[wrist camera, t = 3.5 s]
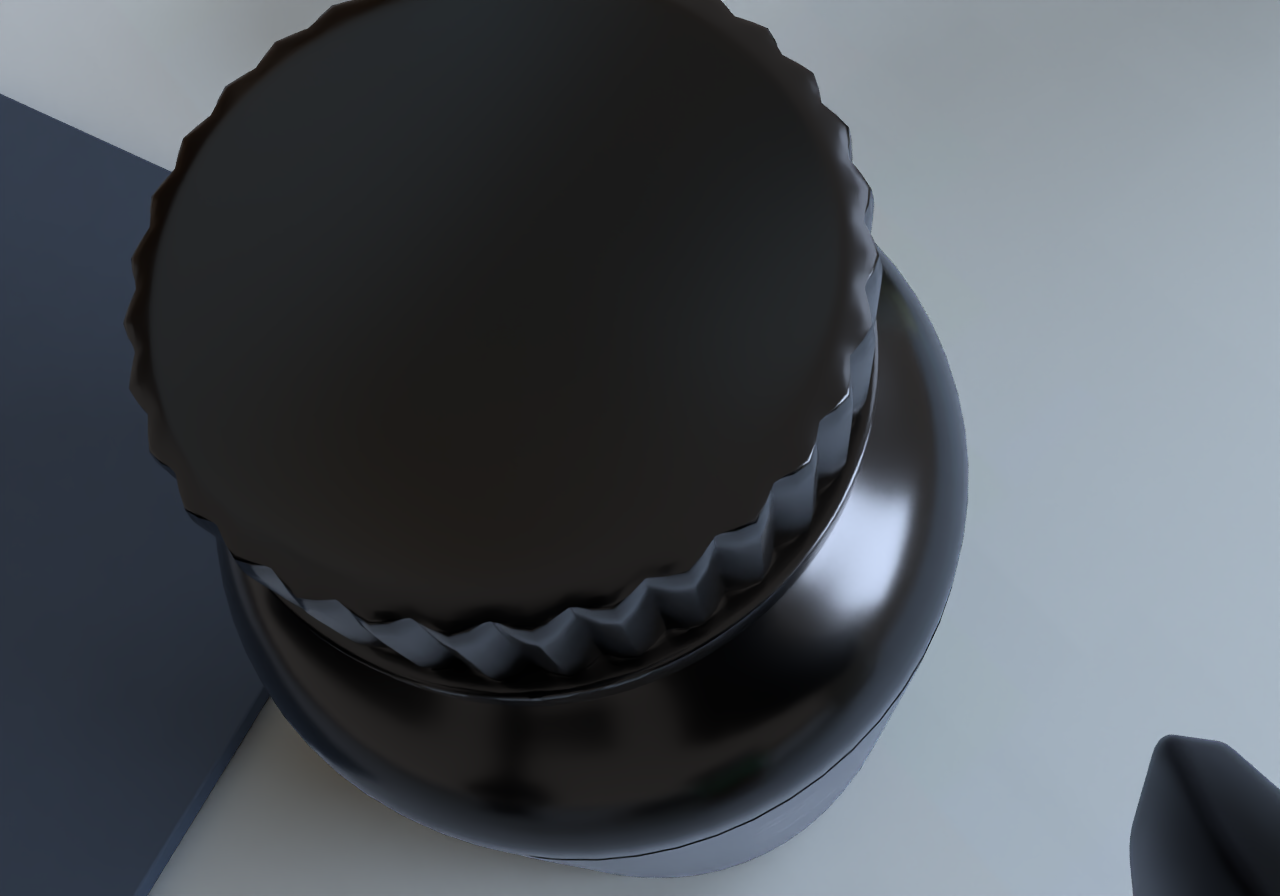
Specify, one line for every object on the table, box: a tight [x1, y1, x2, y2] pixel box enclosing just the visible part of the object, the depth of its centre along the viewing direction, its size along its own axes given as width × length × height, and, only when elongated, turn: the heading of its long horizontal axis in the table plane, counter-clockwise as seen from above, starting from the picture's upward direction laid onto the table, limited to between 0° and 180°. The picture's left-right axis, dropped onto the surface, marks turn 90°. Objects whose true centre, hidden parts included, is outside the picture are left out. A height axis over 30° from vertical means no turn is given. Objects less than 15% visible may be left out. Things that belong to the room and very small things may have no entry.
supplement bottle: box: [123, 0, 968, 878], centre depth 13 cm, size 7×7×12 cm
